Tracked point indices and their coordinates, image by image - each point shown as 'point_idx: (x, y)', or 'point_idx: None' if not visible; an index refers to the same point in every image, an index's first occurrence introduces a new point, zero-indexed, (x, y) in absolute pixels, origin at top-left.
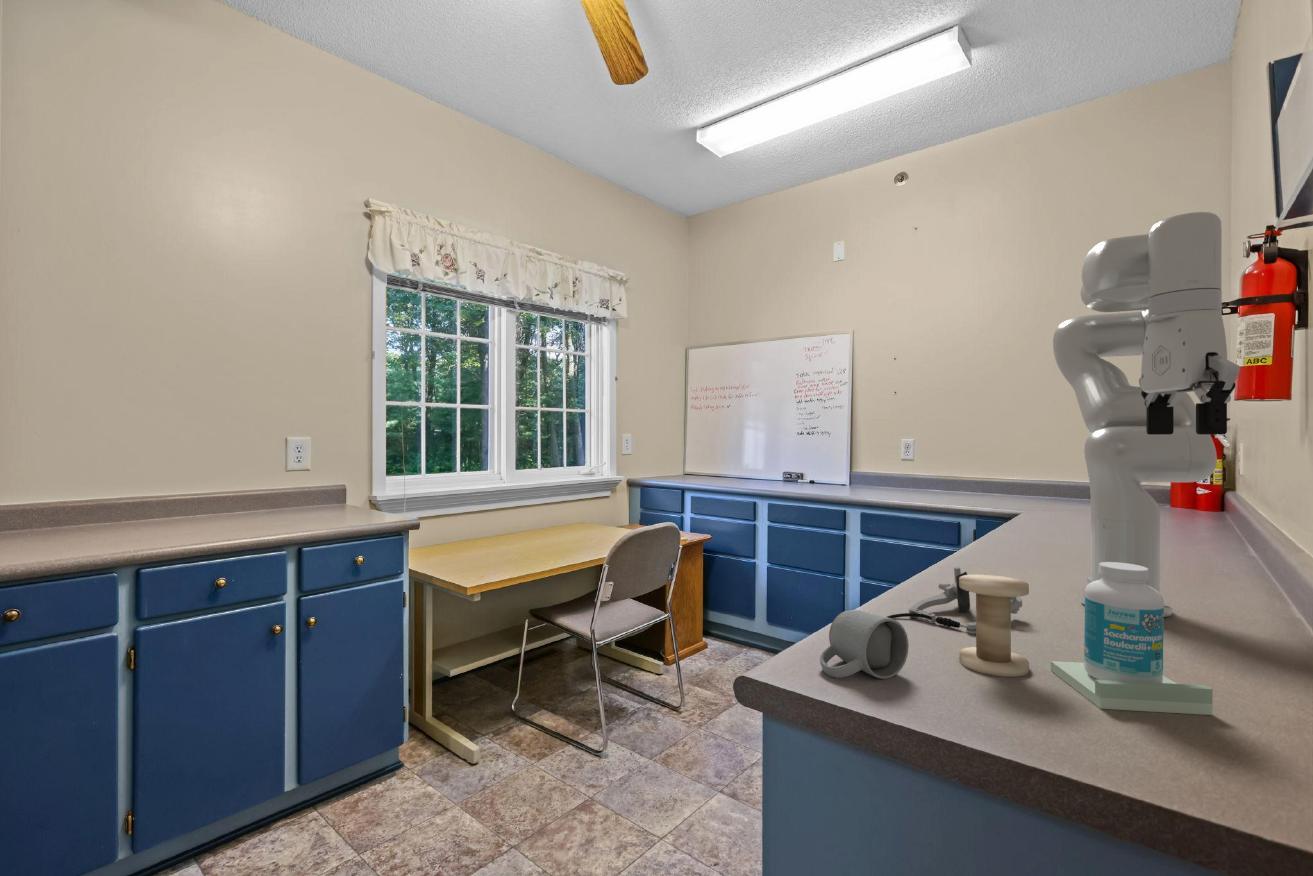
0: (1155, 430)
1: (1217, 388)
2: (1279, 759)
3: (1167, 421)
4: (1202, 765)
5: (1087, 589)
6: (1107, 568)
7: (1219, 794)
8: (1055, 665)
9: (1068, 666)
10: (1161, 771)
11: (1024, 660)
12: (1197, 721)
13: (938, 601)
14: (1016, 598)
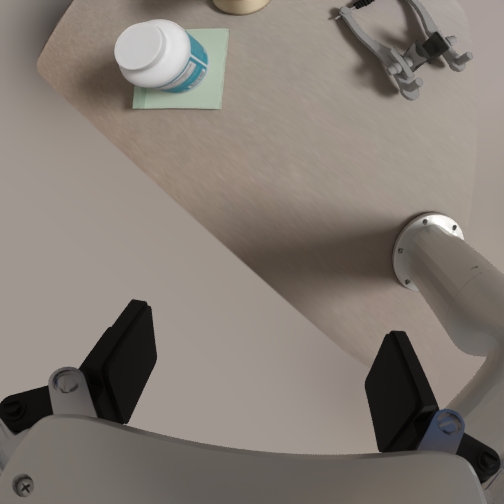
0: (385, 351)
1: (14, 397)
2: (89, 109)
3: (377, 402)
4: (82, 61)
5: (161, 19)
6: (132, 26)
7: (60, 56)
8: (218, 29)
9: (213, 37)
10: (77, 38)
11: (232, 9)
12: (132, 91)
13: (423, 22)
14: (412, 93)
